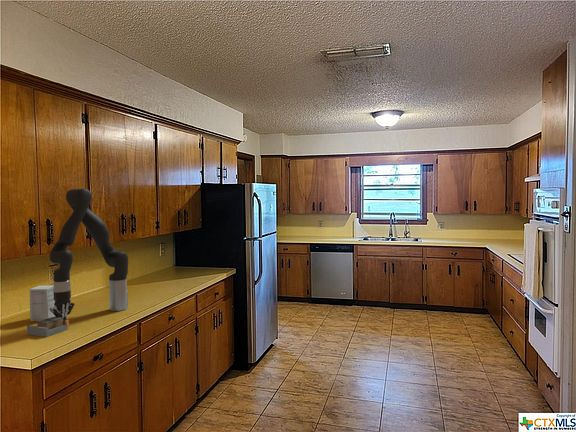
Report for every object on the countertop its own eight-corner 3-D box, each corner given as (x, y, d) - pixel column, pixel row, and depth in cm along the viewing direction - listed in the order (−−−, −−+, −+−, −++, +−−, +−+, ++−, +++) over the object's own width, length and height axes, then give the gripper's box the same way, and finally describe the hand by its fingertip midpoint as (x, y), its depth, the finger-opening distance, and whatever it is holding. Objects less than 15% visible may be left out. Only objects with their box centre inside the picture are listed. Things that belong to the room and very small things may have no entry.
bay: (49, 326, 210) (49, 317, 210) (69, 329, 206) (68, 320, 206) (27, 334, 198) (26, 325, 198) (46, 337, 194) (46, 327, 194)
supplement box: (57, 316, 228) (56, 285, 228) (48, 321, 219) (47, 288, 218) (39, 316, 228) (38, 285, 227) (29, 321, 219) (28, 289, 218)
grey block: (54, 327, 208) (53, 316, 208) (63, 329, 206) (63, 317, 206) (37, 333, 199) (37, 321, 199) (47, 334, 197) (46, 322, 197)
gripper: (67, 286, 216) (68, 320, 217) (44, 292, 204) (45, 327, 205) (78, 287, 214) (79, 321, 215) (56, 293, 202) (57, 329, 202)
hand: (63, 324), depth 210 cm, fingers closed
